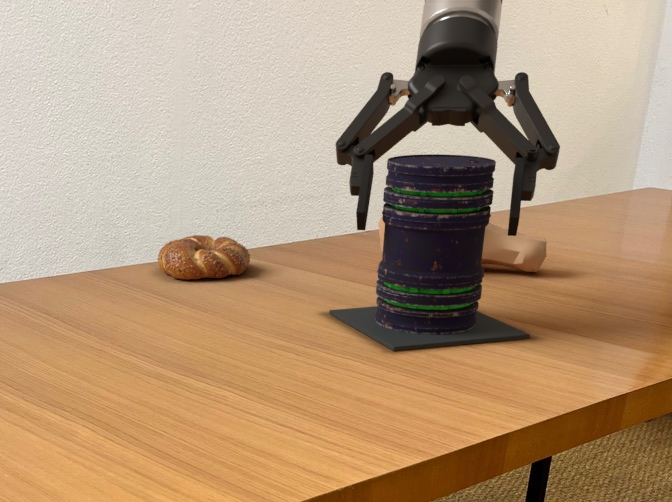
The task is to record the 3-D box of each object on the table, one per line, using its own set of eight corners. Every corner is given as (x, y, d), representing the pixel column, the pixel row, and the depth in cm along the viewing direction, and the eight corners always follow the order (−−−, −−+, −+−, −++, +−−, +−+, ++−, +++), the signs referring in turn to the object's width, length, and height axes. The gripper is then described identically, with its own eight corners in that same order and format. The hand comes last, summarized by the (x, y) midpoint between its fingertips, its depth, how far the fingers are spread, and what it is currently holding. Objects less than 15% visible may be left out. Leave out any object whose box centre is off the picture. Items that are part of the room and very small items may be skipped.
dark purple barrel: (381, 334, 98) (395, 167, 92) (366, 308, 107) (378, 154, 100) (489, 334, 97) (510, 166, 91) (465, 308, 106) (483, 153, 100)
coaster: (529, 338, 98) (530, 334, 98) (393, 351, 94) (393, 346, 94) (452, 303, 110) (452, 300, 110) (329, 313, 107) (329, 310, 106)
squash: (380, 255, 134) (398, 183, 132) (539, 289, 128) (561, 213, 125) (361, 256, 125) (380, 178, 122) (531, 292, 118) (555, 211, 115)
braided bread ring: (212, 286, 118) (212, 253, 116) (136, 274, 124) (135, 243, 122) (268, 268, 127) (269, 237, 125) (194, 258, 133) (195, 228, 131)
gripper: (587, 70, 103) (573, 253, 96) (332, 70, 109) (303, 242, 103) (600, 9, 96) (587, 202, 89) (328, 13, 103) (296, 194, 96)
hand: (435, 224), depth 96 cm, fingers open, 13 cm apart
